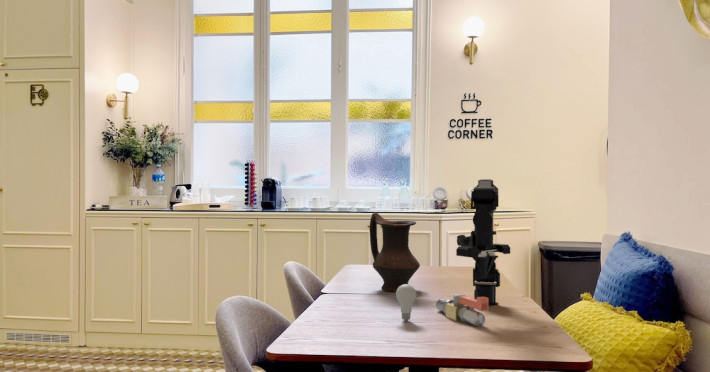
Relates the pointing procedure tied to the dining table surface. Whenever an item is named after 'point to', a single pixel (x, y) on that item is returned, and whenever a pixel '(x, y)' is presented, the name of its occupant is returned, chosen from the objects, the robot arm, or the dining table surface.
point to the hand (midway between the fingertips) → (483, 278)
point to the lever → (471, 302)
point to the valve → (460, 312)
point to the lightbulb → (406, 299)
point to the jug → (392, 252)
